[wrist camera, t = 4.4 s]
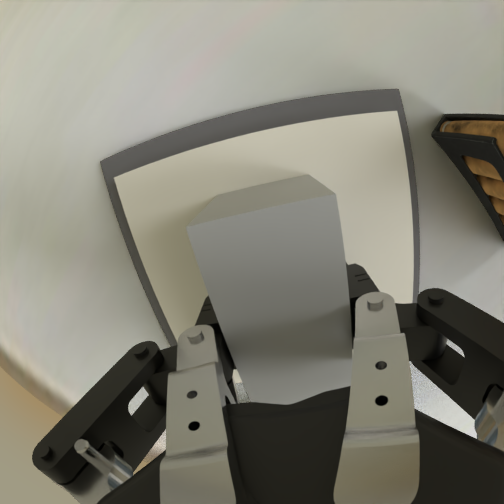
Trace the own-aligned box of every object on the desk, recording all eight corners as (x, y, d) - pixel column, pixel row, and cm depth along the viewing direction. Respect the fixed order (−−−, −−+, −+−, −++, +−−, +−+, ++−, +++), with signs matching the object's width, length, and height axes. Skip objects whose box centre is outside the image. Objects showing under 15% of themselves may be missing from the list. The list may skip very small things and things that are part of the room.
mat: (394, 90, 11) (398, 88, 11) (410, 340, 17) (413, 344, 16) (104, 160, 13) (100, 161, 13) (193, 380, 19) (192, 385, 18)
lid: (386, 112, 11) (463, 99, 5) (401, 336, 16) (438, 406, 10) (125, 174, 13) (44, 199, 7) (203, 373, 18) (183, 448, 12)
